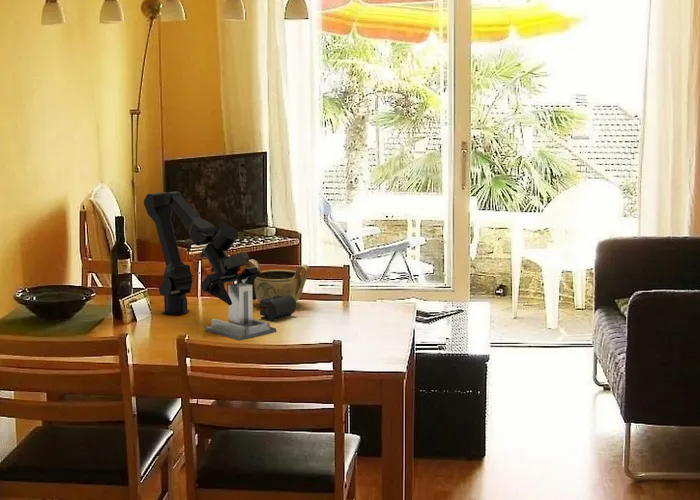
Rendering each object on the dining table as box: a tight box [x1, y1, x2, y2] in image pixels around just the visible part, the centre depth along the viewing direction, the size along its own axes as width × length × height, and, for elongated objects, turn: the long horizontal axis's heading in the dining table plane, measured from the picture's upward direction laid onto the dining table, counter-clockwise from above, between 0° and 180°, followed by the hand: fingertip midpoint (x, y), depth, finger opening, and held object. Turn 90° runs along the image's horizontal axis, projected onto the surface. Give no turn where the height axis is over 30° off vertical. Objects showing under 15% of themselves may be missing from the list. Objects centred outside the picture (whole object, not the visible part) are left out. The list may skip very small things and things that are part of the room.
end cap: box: [259, 295, 297, 322], centre depth 319 cm, size 10×7×7 cm
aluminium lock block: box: [227, 282, 254, 327], centre depth 302 cm, size 5×5×13 cm
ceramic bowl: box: [244, 258, 311, 303], centre depth 334 cm, size 22×17×15 cm
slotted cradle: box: [204, 318, 277, 341], centre depth 303 cm, size 16×14×3 cm
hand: (243, 302), depth 301 cm, fingers open, 9 cm apart
